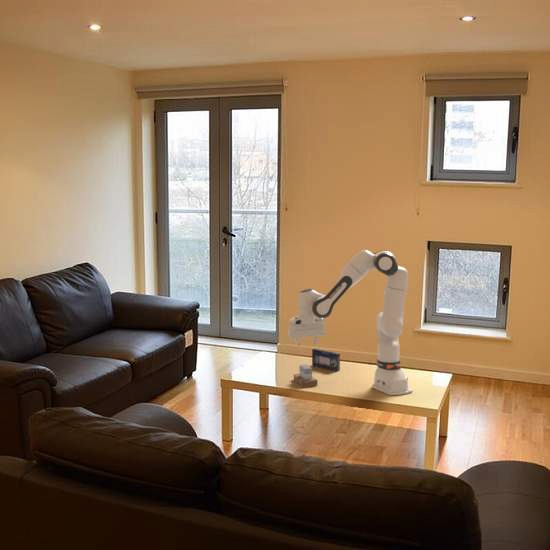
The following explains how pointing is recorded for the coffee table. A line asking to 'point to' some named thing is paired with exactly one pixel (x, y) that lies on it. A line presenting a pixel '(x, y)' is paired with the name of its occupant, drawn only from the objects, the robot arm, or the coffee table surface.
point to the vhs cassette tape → (326, 359)
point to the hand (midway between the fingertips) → (306, 344)
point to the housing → (305, 372)
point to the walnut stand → (305, 381)
